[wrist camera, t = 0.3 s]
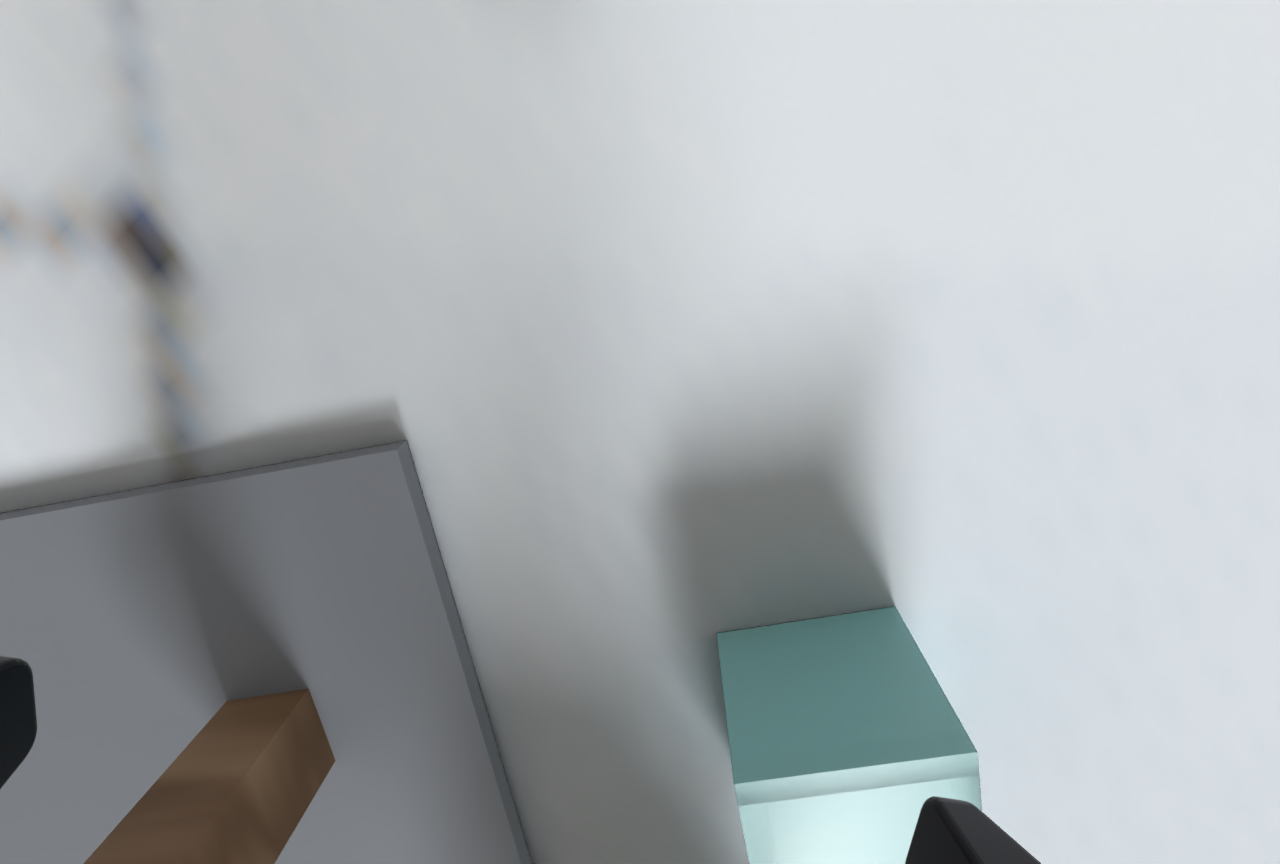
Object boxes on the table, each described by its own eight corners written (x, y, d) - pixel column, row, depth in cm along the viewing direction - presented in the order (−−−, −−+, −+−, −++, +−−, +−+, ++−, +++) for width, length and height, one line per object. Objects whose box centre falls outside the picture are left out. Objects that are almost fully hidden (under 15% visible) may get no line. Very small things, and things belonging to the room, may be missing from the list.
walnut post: (335, 760, 23) (199, 990, 16) (255, 772, 23) (89, 1002, 17) (308, 688, 22) (154, 898, 16) (226, 701, 22) (40, 912, 16)
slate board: (538, 888, 25) (535, 910, 24) (-152, 973, 27) (-176, 995, 27) (406, 440, 21) (396, 449, 20) (-406, 586, 23) (-443, 599, 22)
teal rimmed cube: (911, 754, 23) (992, 936, 17) (743, 776, 24) (768, 961, 18) (895, 606, 22) (977, 752, 16) (716, 633, 22) (734, 783, 16)
